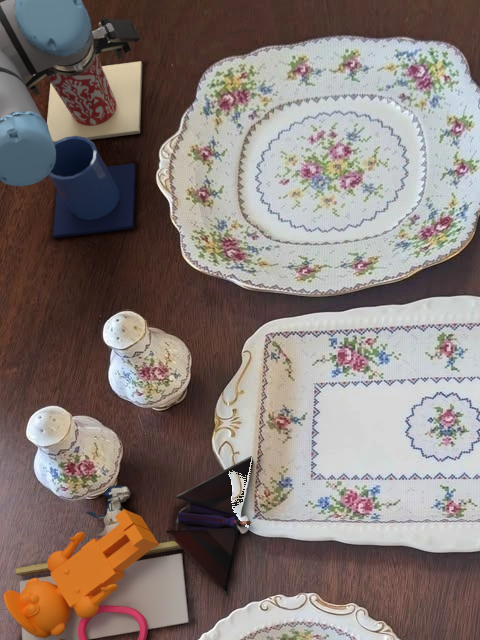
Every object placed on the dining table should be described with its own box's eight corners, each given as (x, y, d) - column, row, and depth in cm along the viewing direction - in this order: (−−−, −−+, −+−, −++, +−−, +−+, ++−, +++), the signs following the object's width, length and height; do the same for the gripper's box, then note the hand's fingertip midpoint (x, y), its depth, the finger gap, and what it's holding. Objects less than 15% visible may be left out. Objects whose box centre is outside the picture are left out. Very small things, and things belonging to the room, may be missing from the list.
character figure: (185, 448, 101) (265, 455, 100) (191, 457, 103) (269, 464, 103) (152, 584, 94) (238, 593, 93) (159, 590, 96) (243, 599, 96)
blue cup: (69, 225, 119) (40, 182, 110) (72, 184, 122) (44, 139, 113) (120, 218, 118) (95, 175, 110) (122, 178, 121) (97, 132, 113)
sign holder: (21, 570, 98) (25, 651, 96) (14, 568, 97) (18, 650, 94) (185, 542, 98) (193, 622, 96) (180, 539, 97) (188, 621, 94)
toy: (176, 562, 95) (145, 551, 88) (57, 655, 95) (15, 652, 87) (138, 503, 98) (104, 488, 91) (22, 593, 98) (-21, 584, 90)
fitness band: (78, 652, 94) (73, 653, 93) (85, 603, 95) (79, 603, 94) (145, 657, 94) (141, 658, 93) (151, 608, 95) (147, 608, 94)
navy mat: (54, 238, 118) (52, 235, 117) (59, 175, 122) (57, 172, 122) (133, 228, 118) (132, 225, 117) (135, 165, 122) (134, 163, 122)
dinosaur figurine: (151, 548, 97) (138, 484, 102) (127, 536, 94) (114, 471, 99) (117, 568, 98) (105, 504, 103) (91, 557, 95) (81, 492, 100)
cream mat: (46, 145, 125) (44, 142, 124) (53, 75, 130) (51, 72, 130) (140, 133, 124) (138, 130, 124) (142, 64, 130) (141, 61, 129)
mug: (123, 125, 124) (86, 51, 112) (66, 135, 125) (23, 61, 112) (122, 68, 129) (86, -10, 117) (67, 77, 129) (26, 0, 117)
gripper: (-12, 109, 101) (12, 125, 120) (166, 31, 104) (162, 59, 123) (-48, 47, 98) (-18, 74, 117) (137, -31, 101) (137, 8, 120)
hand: (74, 67), depth 120 cm, fingers open, 13 cm apart
